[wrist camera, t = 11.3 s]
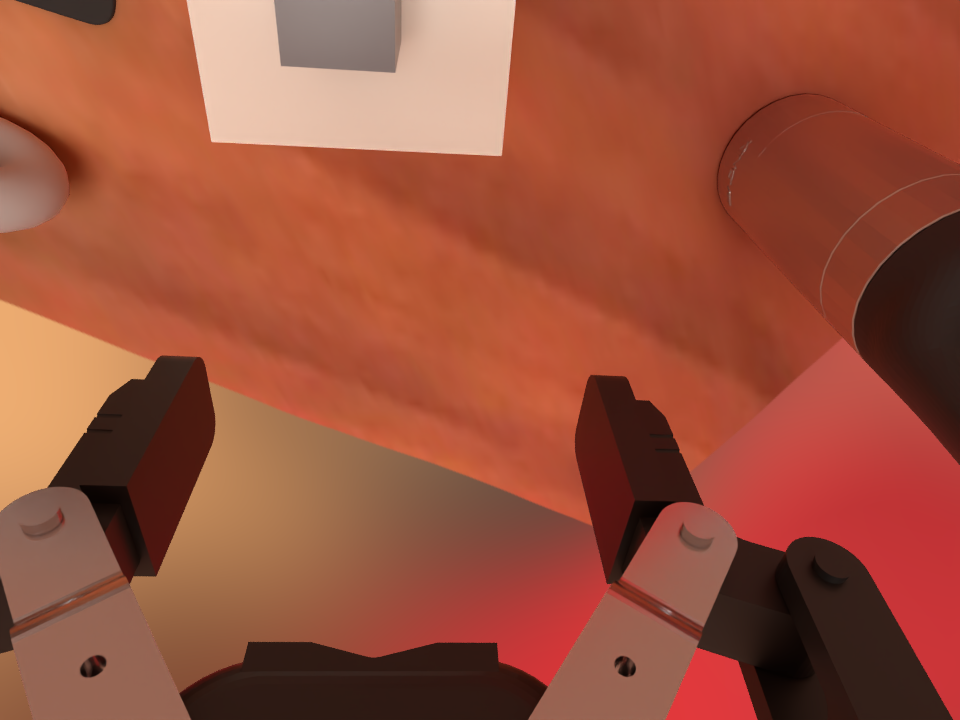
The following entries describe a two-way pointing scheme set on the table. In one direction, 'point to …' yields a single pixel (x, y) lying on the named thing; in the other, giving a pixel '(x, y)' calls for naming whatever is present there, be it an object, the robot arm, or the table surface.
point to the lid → (356, 72)
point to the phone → (79, 9)
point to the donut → (28, 180)
